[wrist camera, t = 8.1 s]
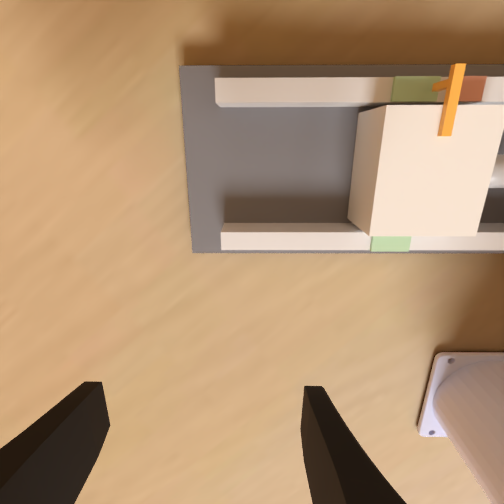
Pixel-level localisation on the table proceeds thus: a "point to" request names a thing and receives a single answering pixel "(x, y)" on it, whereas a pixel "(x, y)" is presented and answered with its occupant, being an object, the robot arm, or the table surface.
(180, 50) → the table surface
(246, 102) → the gauge base
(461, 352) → the robot arm
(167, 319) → the table surface
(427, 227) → the gauge carriage
